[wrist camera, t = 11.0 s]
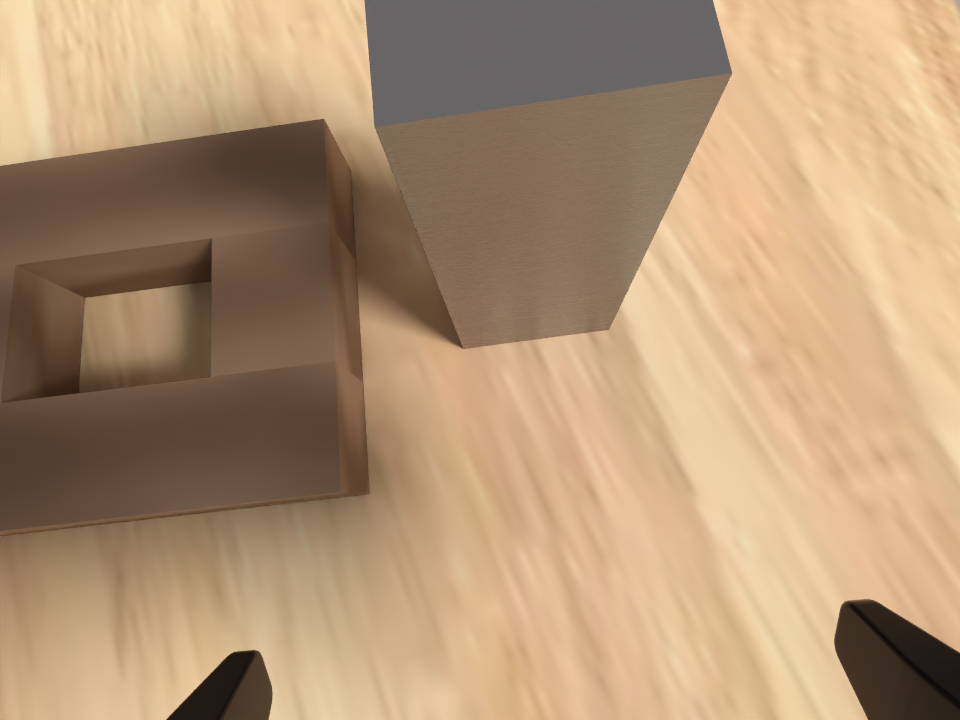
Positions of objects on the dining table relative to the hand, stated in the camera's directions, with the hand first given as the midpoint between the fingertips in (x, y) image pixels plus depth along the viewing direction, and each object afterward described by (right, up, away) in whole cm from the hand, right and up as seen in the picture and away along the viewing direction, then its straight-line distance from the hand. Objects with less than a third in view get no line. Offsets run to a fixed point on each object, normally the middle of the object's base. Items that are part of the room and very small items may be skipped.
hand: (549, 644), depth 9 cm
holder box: (-12, +5, +12) cm, 18 cm away
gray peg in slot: (+1, +7, +11) cm, 13 cm away
